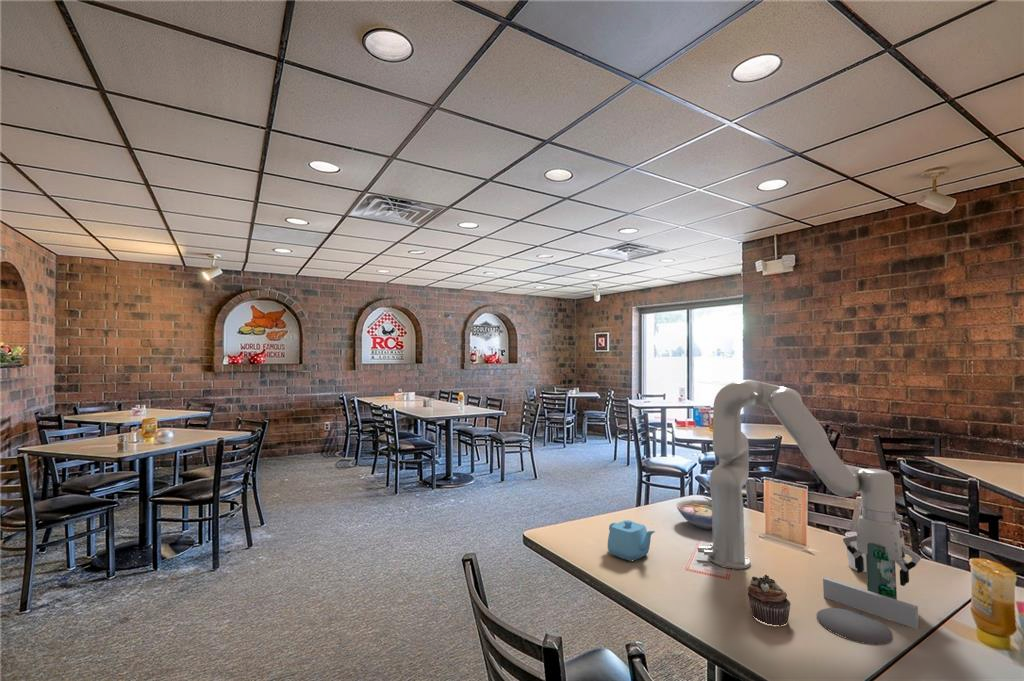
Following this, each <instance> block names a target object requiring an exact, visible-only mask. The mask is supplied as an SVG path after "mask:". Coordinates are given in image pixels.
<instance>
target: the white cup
mask: <svg viewBox="0 0 1024 681" xmlns="http://www.w3.org/2000/svg"><path fill="white" fill-rule="evenodd" d="M844 535H845V536H844V538H846V537H851V536H855V535H857V531H846V532H845V534H844ZM851 544H852V545H853V546H854V547H855V549H856V550H857V551H858V549H857V541H853V542H851ZM845 547H846V556H847V560H848V567H849V568H851V569H853V570H854V571H857V568H855V558H854V557H853V555H852V553H851V552H850V551H849V550H848V549H847V546H846V545H845ZM862 556H863V561H864V571H863V572H862V573H867V569H866V554H864V553H863V554H862Z"/></svg>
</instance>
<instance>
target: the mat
mask: <svg viewBox="0 0 1024 681" xmlns="http://www.w3.org/2000/svg"><path fill="white" fill-rule="evenodd" d="M816 619H818V620H819V622H820V623H821V624H822V625H823V626H824V627H823V626H822V625H821V624H820V623H819V622H818V623H819V624H820V625H821V626H822V627H823V628H825V627H826V628H827V629H826V628H825V629H826V630H828V629H829V630H831V631H832V632H831V631H830V632H831V633H833V632H834V633H833V634H835V633H837V634H839V635H841V636H843V637H842V638H844V637H846V638H845V639H847V638H848V639H847V640H850V639H851V640H850V641H853V640H854V641H853V642H857V641H858V643H861V642H864V643H863V644H867V643H874V644H873V645H883V644H882V643H884V644H887V643H886V642H888V641H890V640H891V639H892V640H893V633H892V631H891V629H890V628H889V627H888V626H887V625H886V624H884V623H882V622H881V621H880V620H877V619H876V618H874V617H872V616H870V615H867V614H864V613H862V612H859V611H858V612H857V611H856V610H855V611H854V610H850V609H845V608H840V607H839V608H837V607H836V608H835V607H826V608H823V609H820V610H818V611H817V613H816ZM818 620H817V621H818ZM829 630H828V631H829ZM837 634H836V635H837ZM839 635H838V636H839ZM841 636H840V637H841ZM892 640H891V641H892ZM891 641H890V642H891ZM879 643H881V644H879ZM888 643H889V642H888Z"/></svg>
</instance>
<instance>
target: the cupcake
mask: <svg viewBox="0 0 1024 681" xmlns="http://www.w3.org/2000/svg"><path fill="white" fill-rule="evenodd" d="M747 591H748V592H747V597H748V602H749V605H750V610H751V613H752V614H753V615H752V614H751V615H752V617H753V616H754V617H755V618H757V619H758V620H760V621H762V622H765V623H767V624H772V625H779V626H781V625H784V624H786V623H787V622H789V617H790V611H791V604H792V603H791V601H790V600H789V599H788V598H787V597H788V593H787V591H785V590H784V589H783V588H782V587H781V586H780V585H779V584H778V582H776V581H775V579H773V578H770V576H769V575H767V574H765V575H763V576H762V577H756V576H752V577H751V580H750V583H749V585H748V586H747ZM754 617H753V618H754ZM787 624H788V623H787Z"/></svg>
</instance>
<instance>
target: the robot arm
mask: <svg viewBox="0 0 1024 681" xmlns="http://www.w3.org/2000/svg"><path fill="white" fill-rule="evenodd" d="M748 406H755V407H759V408H761V409H767V410H770V411H771V412H772V414H774V416H775V417H776V418H777V420H778V421H779V422H780V424H781V425H782V426H783V427H784V429H785V430H786V431H787V432H788V434H789V435H790V437H791V438H792V439H793V440H794V442H795V444H797V445H796V446H798V448H799V450H800V451H801V453H802V454H803V456H804V457H805V458H806V461H807V462H808V464H809V466H810V467H811V468H812V470H813V471H814V472H815V473H816V475H817V476H818V477H819V479H820V480H821V481H822V483H823V484H824V485H825V486H826V488H827V489H828V490H829V491H830V492H832V493H833V494H834V495H836V496H839V497H843V498H849V497H852V496H854V495H855V494H856V493H857V492H860V505H861V514H860V516H858V523H857V527H856V528H857V529H856V532H857V535H855V536H851V537H844V538H843V539H842V542H843V543H844V545H845V547H846V546H847V548H846V550H847V549H848V550H849V551H850V552H851V553H852V555H853V557H854V558H855V568H857V570H856V573H858V574H861V573H864V572H863V571H864V561H863V556H862V554H863V553H864V554H868V551H867V544H868V543H872V544H875V545H879V546H884V547H885V549H886V554H887V552H888V559H889V560H890V561H895V564H897V565H898V566H899V568H900V570H899V584H900V586H901V587H902V586H903V587H905V586H906V585H907V584H909V582H910V572H909V571H910V570H912V569H913V568H915V567H916V566H917V565H918V563H919V562H920V561H921V560H922V556H920V555H919V554H918V553H916V552H914V551H913V550H912V549H910V548H909V547H907V546H906V545H905V539H904V534H903V529H902V525H901V522H899V521H903V518H904V517H903V515H901V514H899V513H898V512H897V510H896V496H895V495H896V493H895V492H896V491H895V478H894V475H893V473H891V472H890V471H888V470H884V469H878V468H863V467H859V466H855V465H851V464H850V465H849V464H845V463H844V462H843V460H841V458H840V456H838V454H837V452H836V450H834V448H833V446H832V445H831V443H830V441H829V437H828V434H827V432H826V431H825V429H824V427H823V426H822V425H821V424H820V423H819V421H818V420H817V419H816V418H815V417H814V415H813V414H812V412H810V410H809V409H808V408H807V407H806V405H805V404H804V402H803V398H802V396H801V395H800V393H799V392H798V391H797V390H795V389H793V388H790V387H786V386H780V385H777V384H771V383H767V382H763V381H758V380H754V379H741V380H736V381H733V382H731V383H728V384H726V385H725V386H723V387H722V388H721V389H720V390H719V391H718V392H717V393H716V395H715V398H714V401H713V409H712V411H713V415H712V416H713V417H712V418H713V419H712V449H713V452H714V454H715V455H716V457H718V459H719V460H718V464H717V465H715V467H713V469H712V470H711V472H710V473H709V478H708V479H709V480H708V482H709V489H710V490H709V491H710V497H711V499H710V501H711V500H712V529H711V530H712V531H711V532H712V542H710V543H709V544H710V545H707V546H701V545H698V546H697V552H698V553H703V554H704V556H707V558H709V559H708V561H710V562H711V561H712V562H713V563H712V562H711V563H712V564H714V563H715V564H714V565H716V564H717V565H716V566H719V565H720V566H719V567H722V566H724V567H723V568H726V567H727V568H726V569H731V568H732V569H733V570H735V569H736V570H737V569H738V570H744V569H747V568H749V567H750V566H751V560H750V558H749V557H748V556H746V554H745V552H746V551H745V524H744V523H745V522H744V521H745V519H744V500H743V493H742V492H743V491H742V488H743V486H745V484H746V483H747V481H748V479H749V475H750V474H749V472H750V470H749V468H750V467H749V466H750V463H749V462H750V460H749V459H750V450H749V449H750V448H749V447H750V446H749V441H748V438H747V436H746V435H745V433H744V432H743V431H742V417H741V416H742V415H741V414H742V413H741V410H742V408H743V409H744V408H745V407H748ZM853 541H857V549H858V551H857V550H856V549H855V547H854V546H853V545H852V544H851V542H853ZM906 555H907V556H908V557H910V558H911V561H909V562H907V560H905V558H906ZM732 569H731V570H732Z"/></svg>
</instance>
